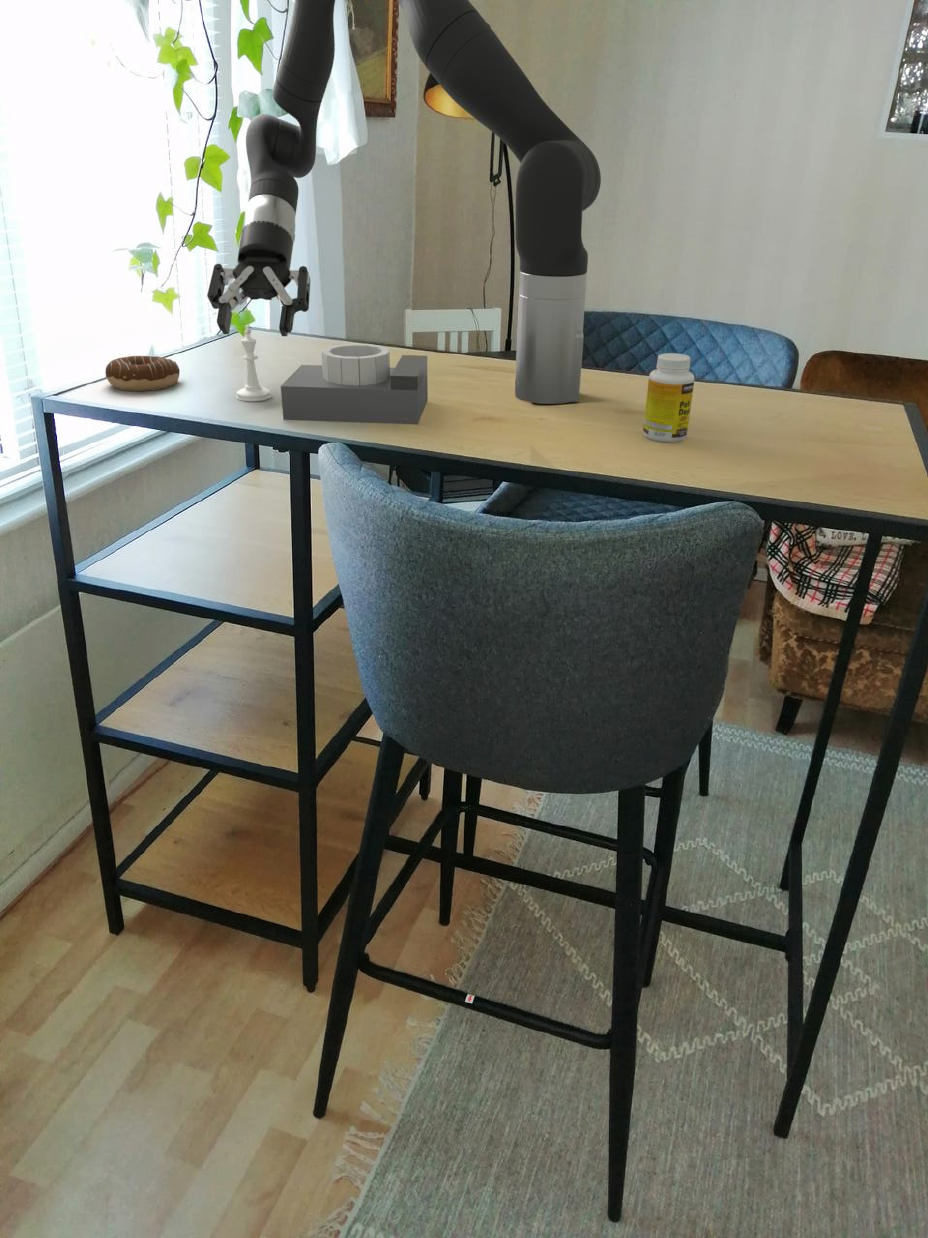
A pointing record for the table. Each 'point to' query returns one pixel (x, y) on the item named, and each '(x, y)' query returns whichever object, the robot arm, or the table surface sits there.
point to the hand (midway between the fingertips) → (253, 332)
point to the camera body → (357, 387)
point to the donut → (142, 373)
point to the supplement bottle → (669, 399)
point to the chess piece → (251, 373)
